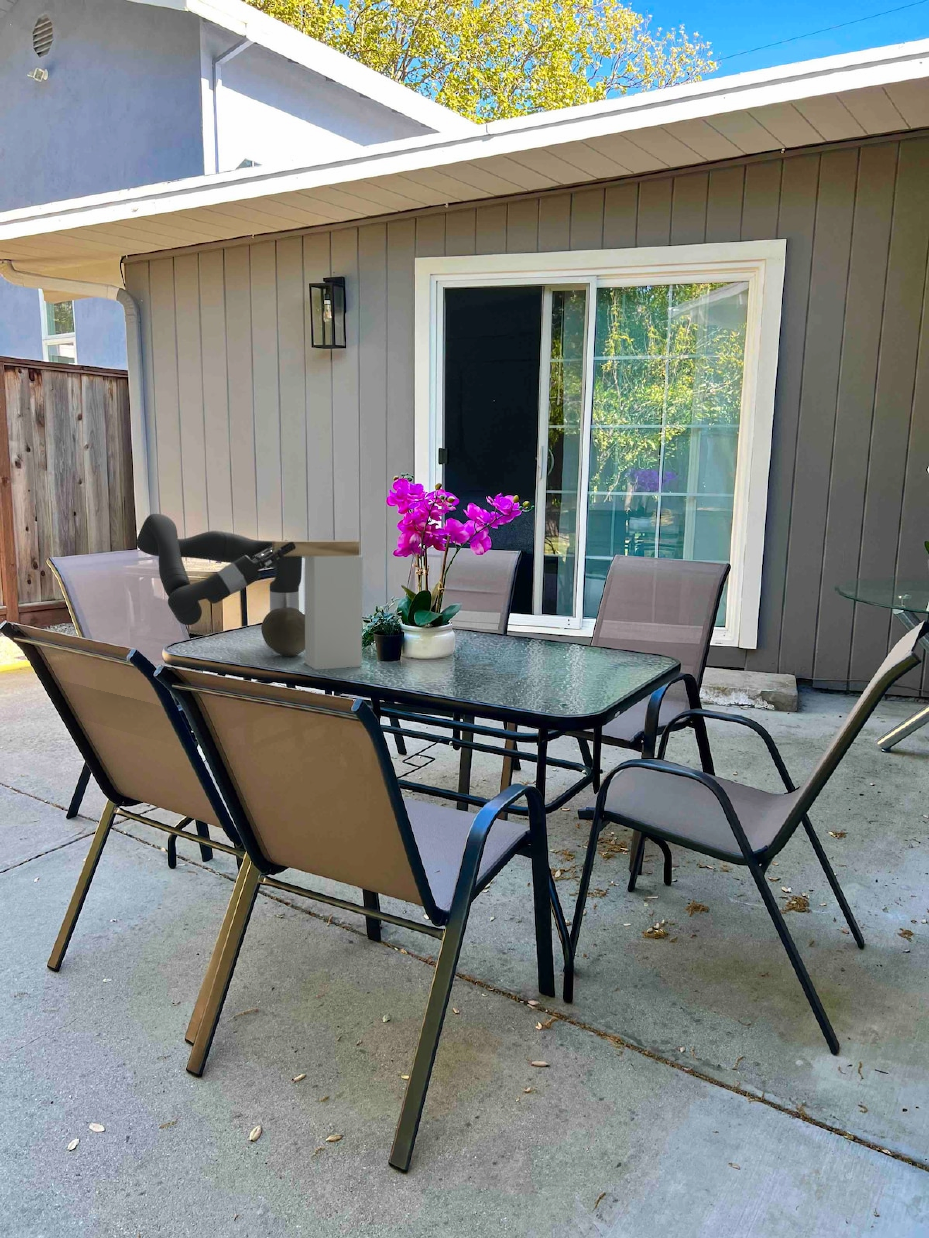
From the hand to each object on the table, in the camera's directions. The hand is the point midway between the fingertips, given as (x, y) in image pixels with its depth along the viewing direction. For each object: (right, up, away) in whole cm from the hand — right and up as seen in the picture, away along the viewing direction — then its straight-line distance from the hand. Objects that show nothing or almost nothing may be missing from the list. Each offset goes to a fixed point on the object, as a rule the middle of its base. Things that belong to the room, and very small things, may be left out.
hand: (291, 543), depth 245 cm
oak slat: (+6, -3, +4) cm, 8 cm away
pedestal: (+10, -34, +11) cm, 37 cm away
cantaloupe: (-6, -32, +21) cm, 39 cm away
